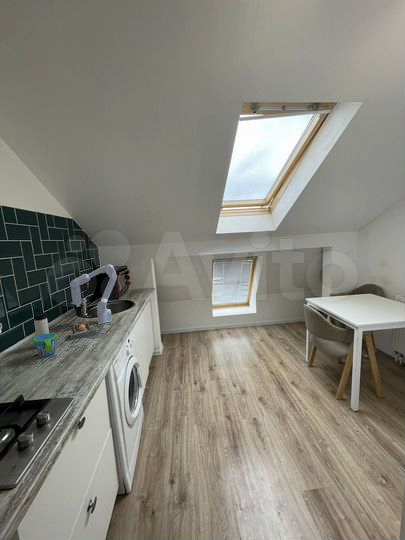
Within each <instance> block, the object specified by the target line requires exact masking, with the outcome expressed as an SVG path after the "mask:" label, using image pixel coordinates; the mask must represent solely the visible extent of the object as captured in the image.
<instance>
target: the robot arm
mask: <svg viewBox="0 0 405 540" xmlns="http://www.w3.org/2000/svg"><path fill="white" fill-rule="evenodd" d="M99 274H106V275H108V277H109V280H108V282H107V285H106V287H105V288H104V292H103V294H102V296H101V299H100V300H99V301H98V302H97V305H96V309H97V310H96V314H97V320H96V322H97V324H98V325H101V324H105V323H110V322H113V320H112V318H113V317H112V311H111V309H110V308H108V307H107V305H108V300H109V298H110V295H111V293H112V291H113V288H114V286H115V284H116V281H117V278H118V276H117V272H116V268H115V267H114V265H113V264H111V263H108V264H105V265H103V266H101V267H99V268H97V269H95V270H94V271H92V272H90V273H83V274H81V275H80V276H78V277H75V279H72V280H71V281H70V282H69V285H70V288H71V290H70V291H71V292H70V293H71V298H72V302H70V305H72V306H73V309H74V310H75V313H76V316H78V317H79V316H82V310H83V309H82V308H83V305H82V303H83V299H82V292H81V286H83V284H86V283H87V282H89V281H91V278H94V277H95V276H97V275H99Z"/></svg>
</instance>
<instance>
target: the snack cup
mask: <svg viewBox="0 0 405 540" xmlns="http://www.w3.org/2000/svg"><path fill="white" fill-rule="evenodd" d="M57 337H58V335H57V333H56V332H49V333H47V334H43V335H40V336H37V337H36V336H35V337H34V338H33V339H32V342H33V344H34V346H35V349H36V352H37V355H38V356H39V357H40V358H45V357H50V356H52V355H54V354H55V353H56V347H57V344H56V343H57Z"/></svg>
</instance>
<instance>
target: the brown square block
mask: <svg viewBox="0 0 405 540" xmlns="http://www.w3.org/2000/svg"><path fill="white" fill-rule="evenodd" d="M82 324H83V325H85V329H86V328H88V325H87V321H86V320H82V321H79V322H76V325H75V327H76V330H79V326H80V325H82Z"/></svg>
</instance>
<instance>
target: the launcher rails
mask: <svg viewBox="0 0 405 540" xmlns="http://www.w3.org/2000/svg"><path fill="white" fill-rule="evenodd" d="M72 326H73V334H77V331H76V330H77V328H76V325H72ZM86 326H87V328H88V331H91V330H92V329H91V325H90V322H86Z"/></svg>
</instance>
